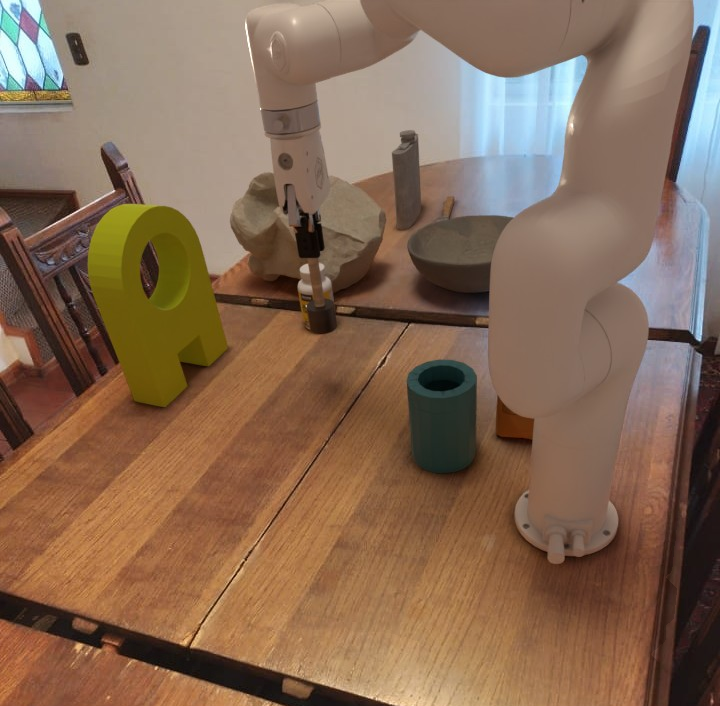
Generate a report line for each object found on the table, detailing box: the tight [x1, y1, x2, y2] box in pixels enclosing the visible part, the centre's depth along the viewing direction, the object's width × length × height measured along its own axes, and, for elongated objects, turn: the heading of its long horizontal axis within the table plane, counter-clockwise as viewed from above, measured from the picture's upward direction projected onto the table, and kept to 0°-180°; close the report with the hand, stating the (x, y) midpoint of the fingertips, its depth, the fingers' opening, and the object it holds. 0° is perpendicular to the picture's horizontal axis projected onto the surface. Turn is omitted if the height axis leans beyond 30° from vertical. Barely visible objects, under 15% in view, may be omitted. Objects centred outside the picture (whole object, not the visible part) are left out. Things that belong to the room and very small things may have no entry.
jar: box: [406, 359, 478, 474], centre depth 95 cm, size 9×9×13 cm
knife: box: [435, 195, 455, 222], centre depth 164 cm, size 31×1×3 cm
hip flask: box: [391, 129, 422, 231], centre depth 163 cm, size 16×4×20 cm, turn 164°
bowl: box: [406, 214, 514, 294], centre depth 136 cm, size 26×26×10 cm
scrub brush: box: [301, 216, 338, 335], centre depth 102 cm, size 4×4×18 cm
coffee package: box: [495, 394, 534, 441], centre depth 95 cm, size 10×12×22 cm
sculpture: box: [229, 171, 387, 294], centre depth 144 cm, size 26×27×30 cm
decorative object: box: [87, 203, 229, 408], centre depth 114 cm, size 20×7×30 cm, turn 155°
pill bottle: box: [297, 263, 337, 330], centre depth 129 cm, size 6×6×12 cm
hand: (312, 253), depth 100 cm, fingers closed on scrub brush
